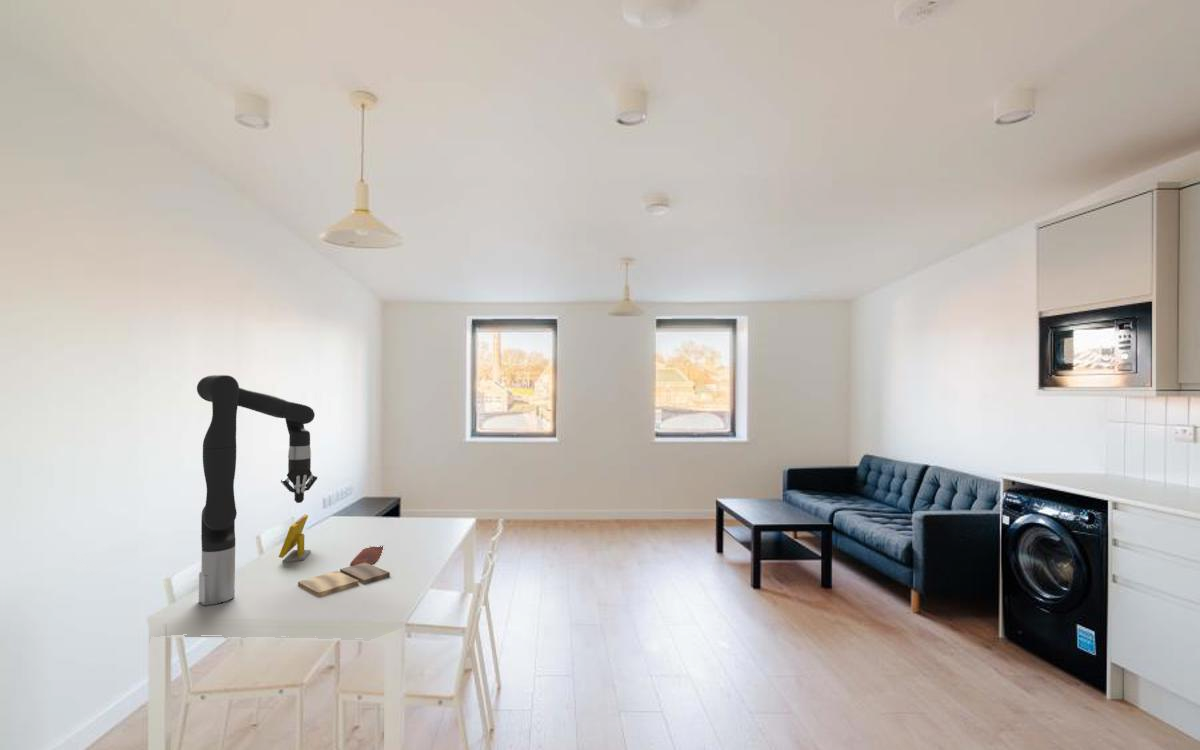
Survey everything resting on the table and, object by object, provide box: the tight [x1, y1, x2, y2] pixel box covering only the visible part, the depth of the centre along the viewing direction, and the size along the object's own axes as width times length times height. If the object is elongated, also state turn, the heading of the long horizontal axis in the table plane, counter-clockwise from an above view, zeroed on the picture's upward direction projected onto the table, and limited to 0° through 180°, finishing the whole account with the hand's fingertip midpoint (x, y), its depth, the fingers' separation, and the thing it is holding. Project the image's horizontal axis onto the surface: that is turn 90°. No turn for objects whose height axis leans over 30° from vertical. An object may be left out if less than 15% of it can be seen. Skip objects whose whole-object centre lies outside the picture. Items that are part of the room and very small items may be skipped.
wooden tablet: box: [349, 545, 384, 567], centre depth 226 cm, size 27×10×2 cm, turn 11°
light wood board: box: [297, 570, 359, 598], centre depth 193 cm, size 14×16×2 cm
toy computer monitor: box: [278, 514, 311, 563], centre depth 224 cm, size 20×8×16 cm, turn 14°
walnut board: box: [339, 562, 391, 585], centre depth 203 cm, size 10×18×2 cm, turn 51°
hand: (299, 502), depth 207 cm, fingers closed
